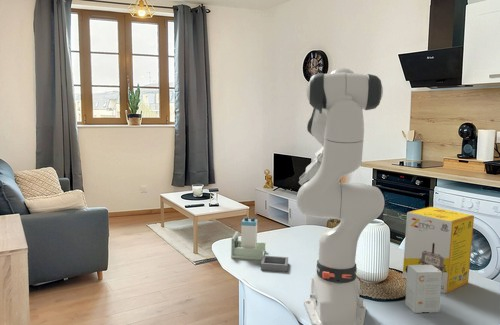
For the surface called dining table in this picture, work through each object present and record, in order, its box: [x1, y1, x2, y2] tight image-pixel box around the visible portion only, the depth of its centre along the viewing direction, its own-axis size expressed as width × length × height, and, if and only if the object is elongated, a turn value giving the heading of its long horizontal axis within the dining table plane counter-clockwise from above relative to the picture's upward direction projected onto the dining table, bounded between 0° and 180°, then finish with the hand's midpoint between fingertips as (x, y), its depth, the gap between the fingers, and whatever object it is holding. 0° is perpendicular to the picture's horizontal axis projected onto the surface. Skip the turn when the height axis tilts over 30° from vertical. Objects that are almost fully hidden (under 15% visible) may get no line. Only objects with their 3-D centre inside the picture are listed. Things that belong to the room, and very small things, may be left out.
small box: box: [404, 265, 442, 314], centre depth 126 cm, size 8×6×13 cm
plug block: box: [240, 216, 258, 249], centre depth 171 cm, size 5×6×15 cm
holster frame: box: [260, 255, 289, 273], centre depth 158 cm, size 9×10×2 cm
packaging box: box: [402, 206, 475, 294], centre depth 147 cm, size 16×16×25 cm
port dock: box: [230, 230, 266, 261], centre depth 171 cm, size 12×13×8 cm
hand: (299, 181), depth 170 cm, fingers open, 8 cm apart
